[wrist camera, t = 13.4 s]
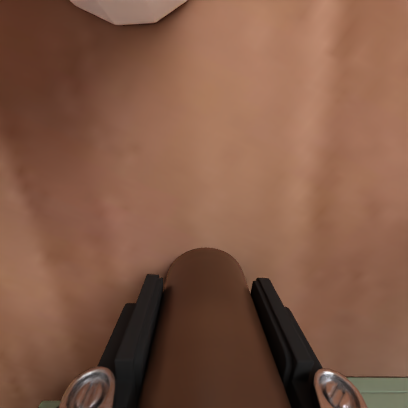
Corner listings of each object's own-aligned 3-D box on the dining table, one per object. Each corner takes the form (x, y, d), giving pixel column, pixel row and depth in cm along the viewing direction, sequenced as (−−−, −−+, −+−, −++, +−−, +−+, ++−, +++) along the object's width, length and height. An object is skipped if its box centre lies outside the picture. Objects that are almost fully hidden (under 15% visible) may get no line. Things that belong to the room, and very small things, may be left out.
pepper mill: (150, 279, 11) (-19, 771, 2) (209, 231, 10) (274, 694, 2) (201, 323, 12) (214, 773, 3) (258, 283, 11) (455, 725, 3)
